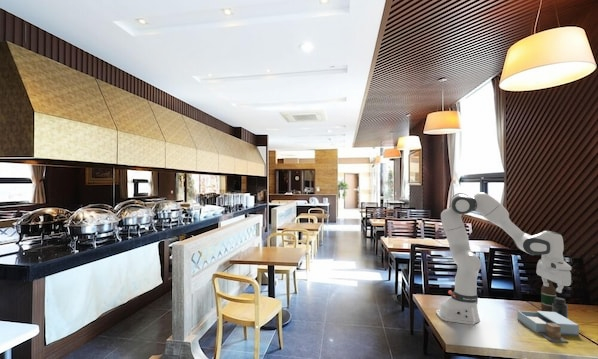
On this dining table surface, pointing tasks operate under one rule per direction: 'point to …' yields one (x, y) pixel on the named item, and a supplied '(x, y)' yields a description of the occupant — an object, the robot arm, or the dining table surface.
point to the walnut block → (553, 330)
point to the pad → (553, 339)
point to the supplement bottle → (560, 307)
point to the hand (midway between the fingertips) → (552, 289)
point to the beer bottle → (547, 296)
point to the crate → (540, 318)
